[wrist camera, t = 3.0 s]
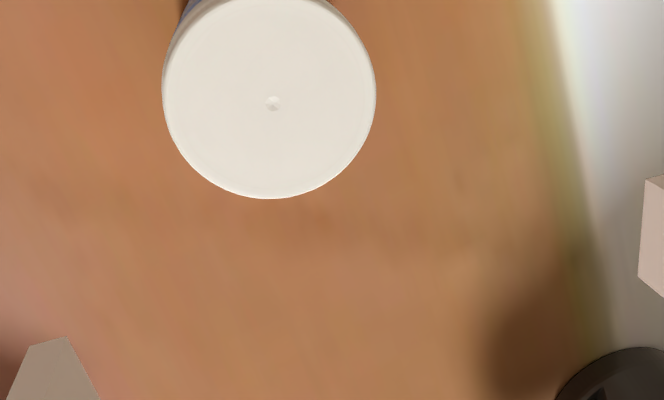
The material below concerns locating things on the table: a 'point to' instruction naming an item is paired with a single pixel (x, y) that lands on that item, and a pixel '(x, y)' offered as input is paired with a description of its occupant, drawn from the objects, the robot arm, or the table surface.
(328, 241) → the table surface
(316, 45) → the supplement tub
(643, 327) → the table surface
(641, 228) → the robot arm
